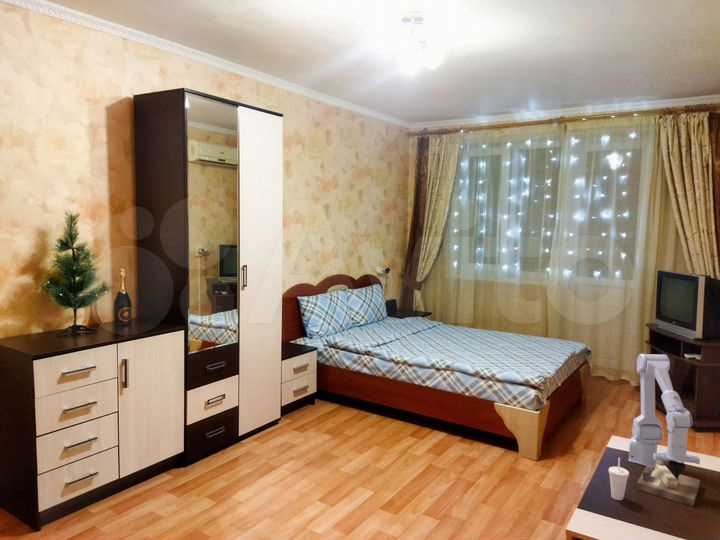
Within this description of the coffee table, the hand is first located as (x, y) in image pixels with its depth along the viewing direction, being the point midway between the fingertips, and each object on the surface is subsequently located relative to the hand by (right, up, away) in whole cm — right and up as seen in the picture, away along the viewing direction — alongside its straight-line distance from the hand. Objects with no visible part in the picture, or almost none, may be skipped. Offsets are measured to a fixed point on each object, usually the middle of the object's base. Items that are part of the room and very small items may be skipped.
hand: (674, 480), depth 183 cm
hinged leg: (-2, 0, +3) cm, 3 cm away
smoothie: (-23, -4, -5) cm, 24 cm away
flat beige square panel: (-1, -3, +2) cm, 4 cm away
